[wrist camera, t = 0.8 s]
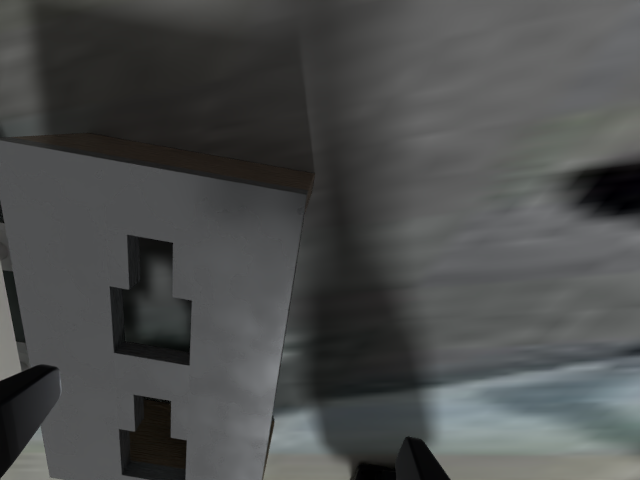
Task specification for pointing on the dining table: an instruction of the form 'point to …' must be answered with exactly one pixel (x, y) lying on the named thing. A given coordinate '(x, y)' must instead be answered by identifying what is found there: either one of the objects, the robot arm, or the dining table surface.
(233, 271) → the keyhole board
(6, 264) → the power strip
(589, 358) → the dining table surface
